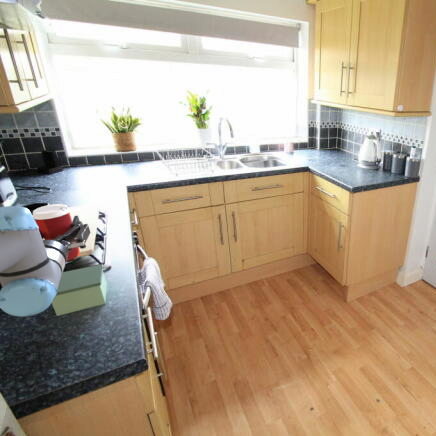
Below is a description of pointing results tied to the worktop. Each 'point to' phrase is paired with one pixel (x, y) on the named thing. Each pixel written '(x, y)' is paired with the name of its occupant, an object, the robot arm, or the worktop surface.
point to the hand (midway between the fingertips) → (61, 222)
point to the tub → (80, 290)
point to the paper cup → (55, 223)
